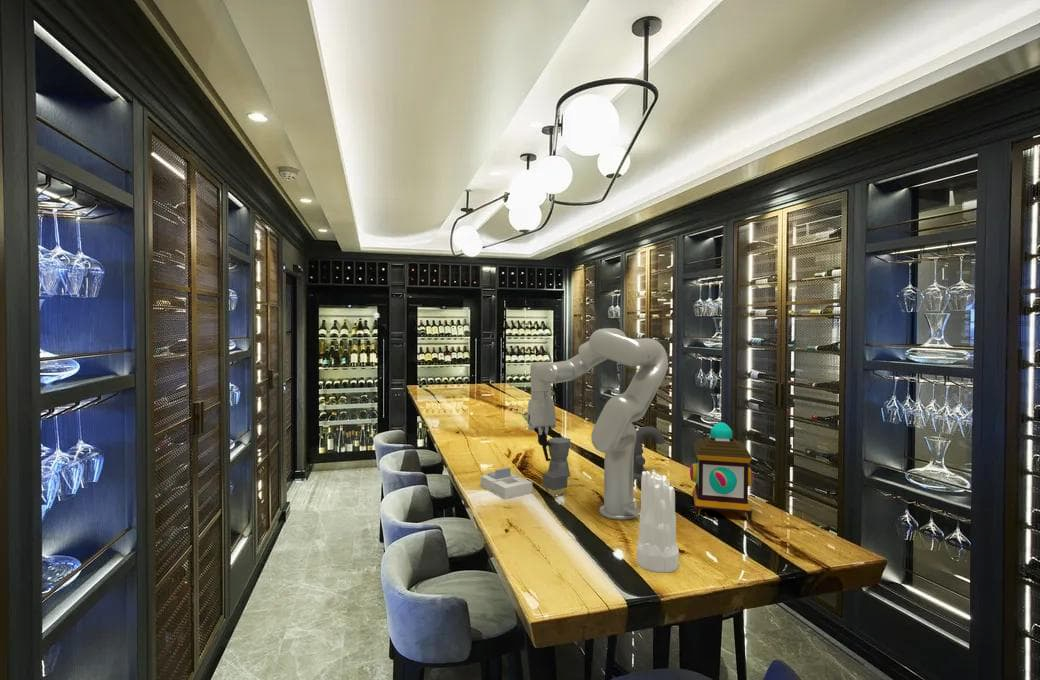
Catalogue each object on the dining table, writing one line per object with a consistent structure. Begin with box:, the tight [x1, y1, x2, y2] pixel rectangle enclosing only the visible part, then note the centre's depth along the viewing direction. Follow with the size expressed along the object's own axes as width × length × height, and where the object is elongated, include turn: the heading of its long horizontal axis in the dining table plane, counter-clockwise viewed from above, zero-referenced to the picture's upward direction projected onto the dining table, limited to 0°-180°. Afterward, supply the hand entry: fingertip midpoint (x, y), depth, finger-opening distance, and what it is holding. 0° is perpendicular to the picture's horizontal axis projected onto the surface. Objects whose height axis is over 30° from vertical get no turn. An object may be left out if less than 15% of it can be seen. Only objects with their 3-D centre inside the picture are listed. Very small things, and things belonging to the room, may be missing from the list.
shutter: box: [486, 467, 511, 479], centre depth 205 cm, size 7×7×3 cm
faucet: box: [633, 425, 666, 480], centre depth 221 cm, size 18×16×20 cm
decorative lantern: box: [689, 422, 754, 522], centre depth 178 cm, size 20×20×30 cm
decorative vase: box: [636, 468, 680, 573], centre depth 139 cm, size 11×11×25 cm
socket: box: [480, 472, 533, 500], centre depth 201 cm, size 18×12×4 cm, turn 34°
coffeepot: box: [542, 432, 571, 479], centre depth 216 cm, size 15×9×18 cm, turn 129°
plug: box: [542, 471, 568, 497], centre depth 195 cm, size 6×6×8 cm
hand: (542, 444), depth 195 cm, fingers closed
